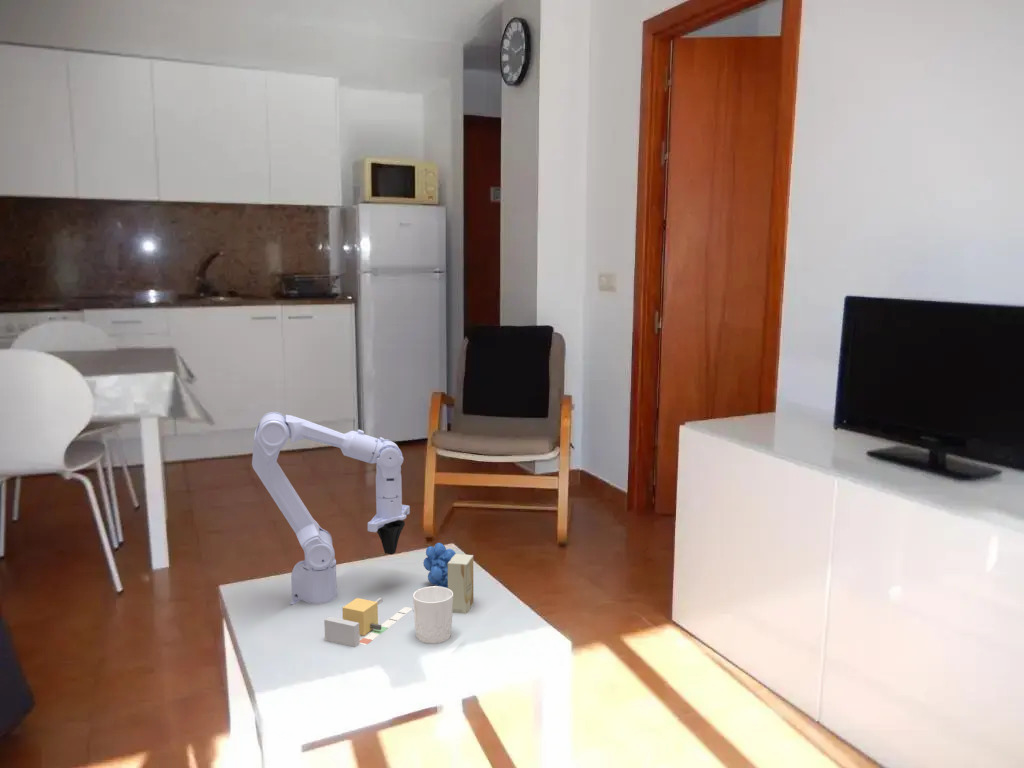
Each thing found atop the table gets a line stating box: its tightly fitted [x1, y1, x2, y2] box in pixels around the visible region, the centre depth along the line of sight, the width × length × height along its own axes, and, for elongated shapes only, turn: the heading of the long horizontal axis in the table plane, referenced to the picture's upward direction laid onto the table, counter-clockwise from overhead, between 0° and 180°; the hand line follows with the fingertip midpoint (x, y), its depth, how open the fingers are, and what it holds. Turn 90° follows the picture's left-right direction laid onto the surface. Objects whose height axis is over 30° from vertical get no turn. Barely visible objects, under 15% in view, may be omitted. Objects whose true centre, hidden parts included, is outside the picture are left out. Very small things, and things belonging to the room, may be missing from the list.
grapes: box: [423, 542, 457, 588], centre depth 173 cm, size 12×7×12 cm, turn 56°
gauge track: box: [323, 596, 414, 648], centre depth 158 cm, size 11×22×6 cm, turn 157°
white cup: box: [412, 585, 453, 644], centre depth 151 cm, size 8×8×10 cm
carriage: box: [341, 597, 382, 637], centre depth 154 cm, size 7×5×5 cm
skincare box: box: [448, 553, 475, 615], centre depth 164 cm, size 6×4×12 cm
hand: (390, 553), depth 173 cm, fingers closed
